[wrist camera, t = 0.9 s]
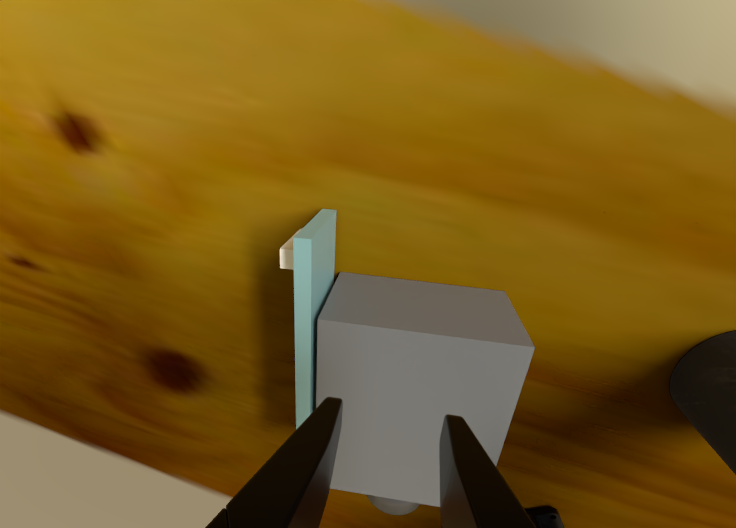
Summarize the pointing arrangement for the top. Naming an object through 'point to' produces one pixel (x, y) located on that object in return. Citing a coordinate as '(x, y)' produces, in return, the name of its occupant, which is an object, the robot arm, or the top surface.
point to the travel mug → (710, 393)
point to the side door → (309, 299)
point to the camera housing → (415, 379)
